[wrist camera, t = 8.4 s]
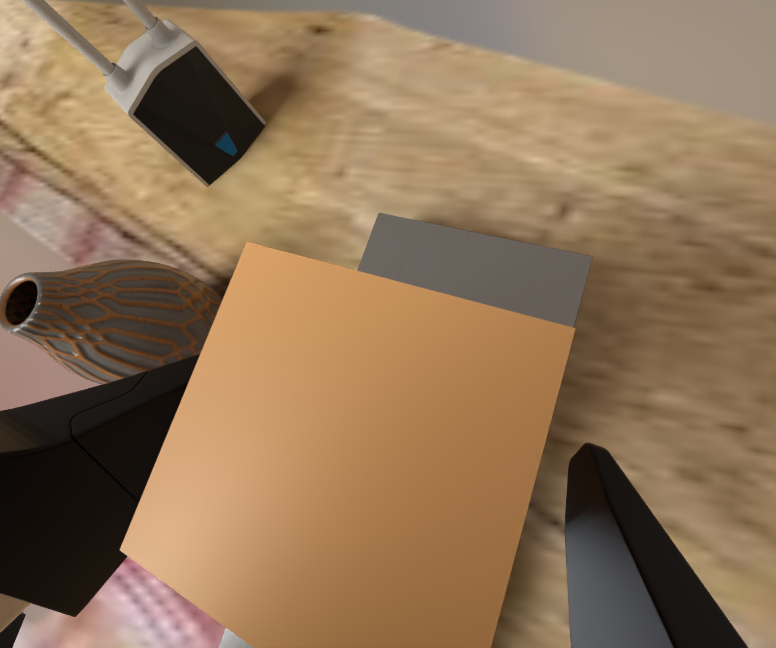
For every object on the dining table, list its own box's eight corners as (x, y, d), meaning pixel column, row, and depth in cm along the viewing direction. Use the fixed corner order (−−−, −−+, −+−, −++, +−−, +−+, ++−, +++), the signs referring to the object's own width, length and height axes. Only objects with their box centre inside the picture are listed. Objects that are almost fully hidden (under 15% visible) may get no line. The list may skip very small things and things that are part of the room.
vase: (240, 392, 18) (55, 403, 10) (154, 382, 20) (-70, 384, 11) (258, 287, 19) (107, 215, 11) (176, 286, 21) (-13, 222, 12)
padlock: (240, 101, 23) (-120, -371, 8) (270, 126, 22) (-90, -375, 7) (183, 162, 23) (-268, -201, 9) (210, 190, 22) (-263, -178, 7)
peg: (452, 443, 15) (452, 795, 2) (381, 415, 16) (119, 550, 3) (474, 369, 15) (575, 328, 3) (404, 346, 16) (246, 241, 4)
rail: (437, 737, 13) (432, 842, 10) (256, 612, 15) (211, 666, 12) (565, 280, 15) (592, 256, 12) (390, 239, 18) (378, 212, 15)
